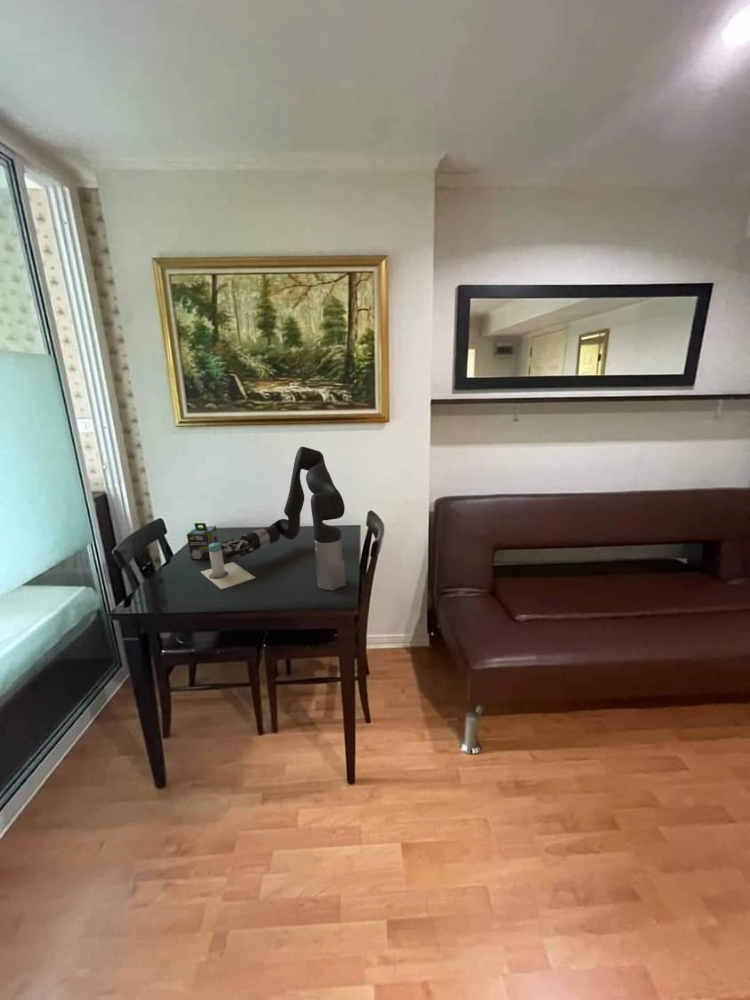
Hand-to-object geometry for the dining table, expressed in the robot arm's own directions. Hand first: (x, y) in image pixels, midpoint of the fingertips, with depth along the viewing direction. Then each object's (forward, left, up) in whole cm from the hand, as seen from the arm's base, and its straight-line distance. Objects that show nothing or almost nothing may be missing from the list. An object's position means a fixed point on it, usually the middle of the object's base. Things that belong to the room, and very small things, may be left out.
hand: (219, 553), depth 164 cm
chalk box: (+24, -3, -9) cm, 26 cm away
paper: (-2, -1, -8) cm, 9 cm away
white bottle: (0, +1, -8) cm, 8 cm away
